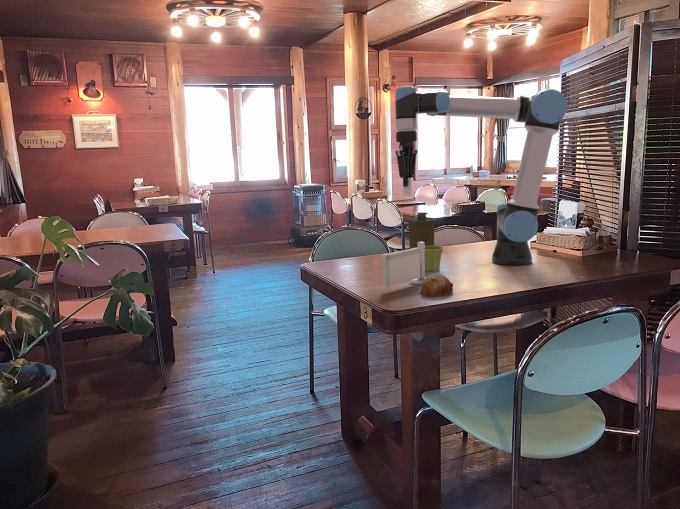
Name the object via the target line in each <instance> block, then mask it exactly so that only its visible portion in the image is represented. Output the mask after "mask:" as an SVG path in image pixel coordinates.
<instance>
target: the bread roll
mask: <svg viewBox="0 0 680 509" xmlns="http://www.w3.org/2000/svg"><path fill="white" fill-rule="evenodd" d="M425 277H426V278H425V279H424V280H423V282H422V285H421V286H420V287H421V290H420V292H419V293H420V294H421V295H424V296H426V297H430V298H431V297H432V298H439V297H448V296H451V295H452V294H453V291H454V290H453V289H454V288H453V286H454V283H453V282H451V280H449V278H448V277H446V276H445V275H443V274H438V273H436V274H435V273H432V274H430V275H428V276H425Z"/></svg>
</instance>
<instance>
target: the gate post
mask: <svg viewBox="0 0 680 509" xmlns="http://www.w3.org/2000/svg"><path fill="white" fill-rule="evenodd" d="M417 244H418V248H420V278H417V279H414V280H410V281H409V284H412V285H421V286H422V282H423V280H424V279H425V278H426V277H427V276H426V271H425V242H417Z"/></svg>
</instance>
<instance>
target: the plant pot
mask: <svg viewBox="0 0 680 509" xmlns="http://www.w3.org/2000/svg"><path fill="white" fill-rule="evenodd" d="M443 249H444V246H441V245H434V246H425V272H429V271H430V272H438V271H439V270H440V268H441V259H442V254H443Z"/></svg>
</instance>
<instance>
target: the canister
mask: <svg viewBox="0 0 680 509" xmlns="http://www.w3.org/2000/svg"><path fill="white" fill-rule="evenodd" d="M427 215H429V214H428V212H426V211H425V212H421V211H420V212H419V211H418V212H417V216H416V217H413V218H408V227H409V228H408V237H409V238H408V242H409V249H412V248H418V244H417V242H425V246H435V221H436V220H435V218H432V217H427Z"/></svg>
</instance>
